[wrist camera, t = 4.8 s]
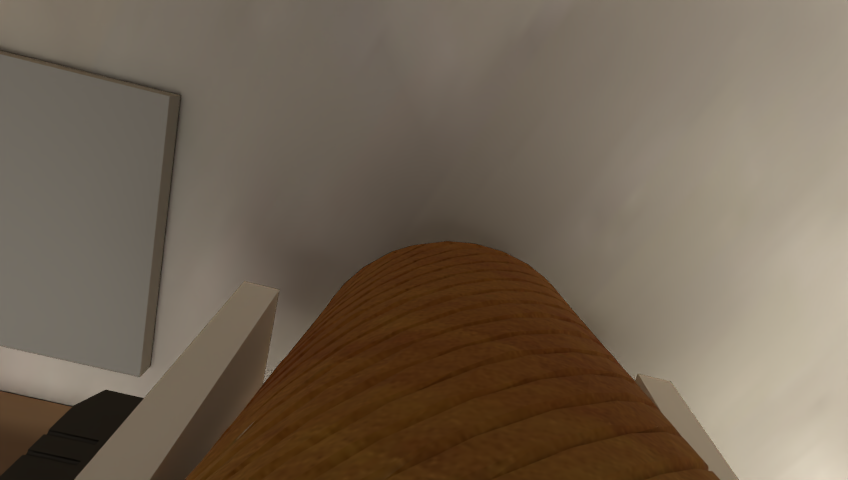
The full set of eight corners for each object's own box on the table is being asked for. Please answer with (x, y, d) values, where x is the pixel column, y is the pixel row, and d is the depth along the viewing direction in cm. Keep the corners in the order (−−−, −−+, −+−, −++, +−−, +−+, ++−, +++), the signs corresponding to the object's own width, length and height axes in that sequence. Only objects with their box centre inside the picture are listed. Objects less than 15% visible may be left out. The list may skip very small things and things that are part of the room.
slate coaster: (-141, 15, 14) (-166, 12, 13) (180, 95, 14) (169, 96, 14) (-126, 304, 16) (-147, 313, 16) (149, 366, 16) (139, 377, 16)
